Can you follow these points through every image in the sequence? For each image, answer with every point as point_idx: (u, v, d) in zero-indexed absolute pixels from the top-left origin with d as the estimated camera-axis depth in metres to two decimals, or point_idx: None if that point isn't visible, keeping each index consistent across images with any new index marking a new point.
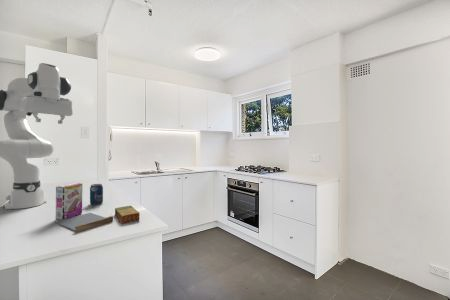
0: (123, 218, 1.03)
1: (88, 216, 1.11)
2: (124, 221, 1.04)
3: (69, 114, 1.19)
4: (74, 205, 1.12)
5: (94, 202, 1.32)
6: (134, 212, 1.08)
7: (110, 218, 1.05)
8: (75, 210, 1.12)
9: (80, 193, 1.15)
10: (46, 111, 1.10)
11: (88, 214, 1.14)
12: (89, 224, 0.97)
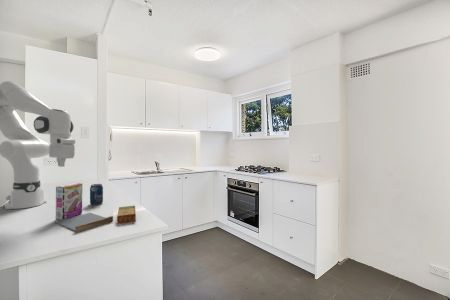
0: (118, 218, 1.03)
1: (88, 216, 1.11)
2: (119, 221, 1.03)
3: None
4: (74, 205, 1.12)
5: (94, 202, 1.32)
6: (131, 213, 1.07)
7: (110, 218, 1.05)
8: (75, 210, 1.12)
9: (80, 193, 1.15)
10: None
11: (88, 214, 1.14)
12: (89, 224, 0.97)
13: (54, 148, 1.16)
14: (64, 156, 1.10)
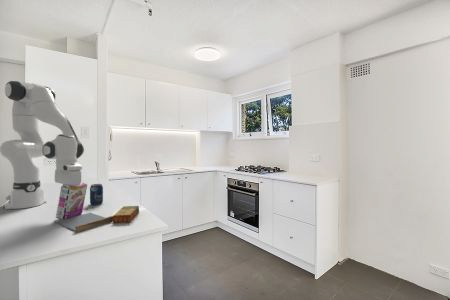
0: (114, 218, 1.04)
1: (88, 216, 1.11)
2: (115, 221, 1.04)
3: None
4: (76, 205, 1.12)
5: (94, 202, 1.32)
6: (127, 213, 1.06)
7: (110, 218, 1.05)
8: (76, 210, 1.12)
9: (83, 194, 1.15)
10: None
11: (88, 214, 1.14)
12: (89, 224, 0.97)
13: (60, 173, 1.13)
14: (71, 183, 1.07)
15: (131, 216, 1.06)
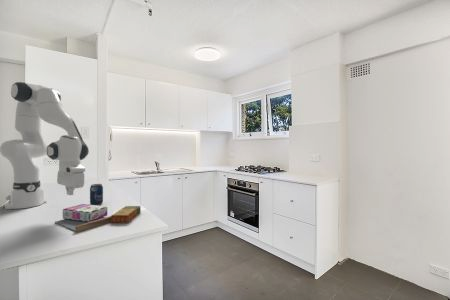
0: (112, 218, 1.04)
1: None
2: (113, 221, 1.04)
3: None
4: None
5: (94, 202, 1.32)
6: (125, 214, 1.06)
7: (110, 218, 1.05)
8: None
9: None
10: None
11: None
12: (89, 224, 0.97)
13: (63, 175, 1.11)
14: (73, 186, 1.05)
15: (129, 216, 1.05)
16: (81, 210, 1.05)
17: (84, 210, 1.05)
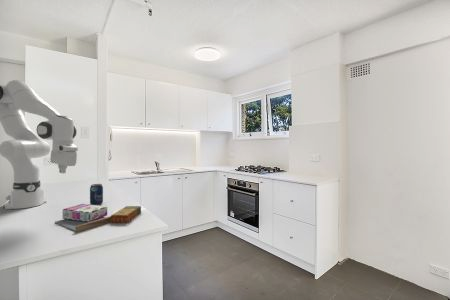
0: (112, 217, 1.04)
1: None
2: (112, 221, 1.04)
3: None
4: None
5: (94, 202, 1.32)
6: (125, 214, 1.05)
7: (110, 218, 1.05)
8: None
9: None
10: None
11: None
12: (89, 224, 0.97)
13: (56, 154, 1.15)
14: (66, 163, 1.09)
15: (128, 216, 1.05)
16: (81, 210, 1.05)
17: (84, 210, 1.04)
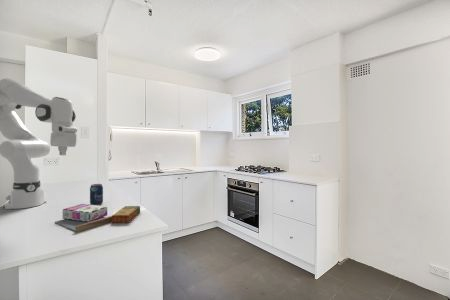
0: (113, 218, 1.04)
1: None
2: (113, 221, 1.04)
3: None
4: None
5: (94, 202, 1.32)
6: (126, 214, 1.06)
7: (110, 218, 1.05)
8: None
9: None
10: None
11: None
12: (89, 224, 0.97)
13: (56, 136, 1.15)
14: (66, 144, 1.09)
15: (130, 216, 1.06)
16: (81, 210, 1.05)
17: (84, 210, 1.04)
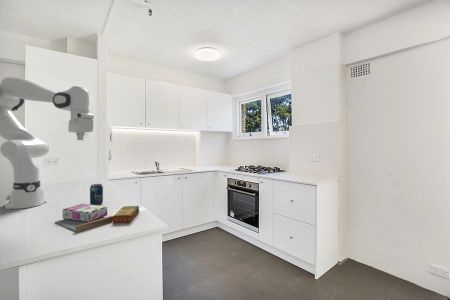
0: (114, 218, 1.03)
1: None
2: (115, 221, 1.04)
3: None
4: None
5: (94, 202, 1.32)
6: (127, 213, 1.06)
7: (110, 218, 1.05)
8: None
9: None
10: None
11: None
12: (89, 224, 0.97)
13: (74, 123, 1.24)
14: (84, 129, 1.19)
15: (131, 216, 1.06)
16: (81, 210, 1.05)
17: (84, 210, 1.04)
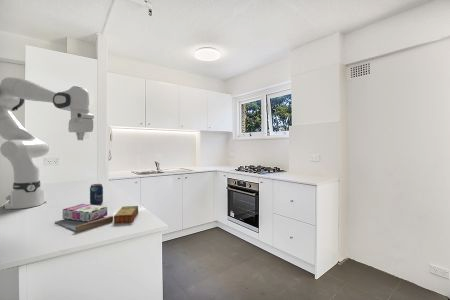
0: (115, 218, 1.03)
1: None
2: (116, 221, 1.03)
3: None
4: None
5: (94, 202, 1.32)
6: (128, 213, 1.06)
7: (110, 218, 1.05)
8: None
9: None
10: None
11: None
12: (89, 224, 0.97)
13: (74, 123, 1.24)
14: (84, 129, 1.19)
15: (132, 216, 1.06)
16: (81, 210, 1.05)
17: (84, 210, 1.04)
